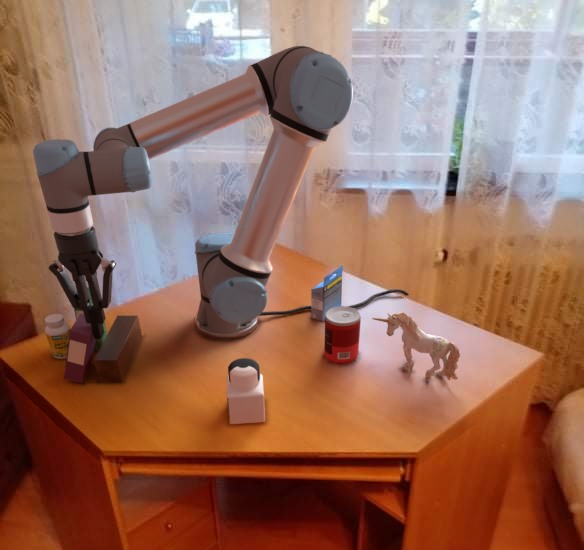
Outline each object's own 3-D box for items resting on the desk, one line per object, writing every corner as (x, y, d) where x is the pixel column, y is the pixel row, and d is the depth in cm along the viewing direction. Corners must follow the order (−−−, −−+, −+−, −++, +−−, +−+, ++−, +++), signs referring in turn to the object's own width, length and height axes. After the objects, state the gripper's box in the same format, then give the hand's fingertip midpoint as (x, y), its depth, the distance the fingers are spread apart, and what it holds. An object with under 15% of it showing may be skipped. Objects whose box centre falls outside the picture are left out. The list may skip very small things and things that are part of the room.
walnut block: (142, 337, 145) (137, 315, 141) (122, 382, 129) (117, 360, 126) (121, 336, 145) (117, 315, 141) (99, 382, 130) (93, 360, 126)
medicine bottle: (229, 403, 123) (224, 355, 116) (263, 400, 124) (261, 353, 116) (229, 425, 118) (224, 376, 110) (265, 422, 118) (262, 373, 111)
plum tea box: (91, 365, 135) (99, 318, 127) (82, 383, 129) (89, 336, 122) (73, 360, 134) (80, 313, 127) (63, 378, 128) (69, 330, 121)
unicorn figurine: (376, 353, 137) (380, 302, 129) (461, 370, 132) (471, 318, 124) (367, 370, 132) (372, 318, 124) (455, 389, 126) (466, 335, 118)
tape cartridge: (329, 304, 157) (330, 260, 149) (341, 308, 155) (343, 264, 147) (310, 318, 151) (310, 273, 144) (323, 322, 149) (324, 277, 142)
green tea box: (107, 335, 145) (99, 287, 137) (99, 351, 140) (90, 302, 132) (91, 334, 145) (82, 286, 137) (82, 350, 139) (72, 301, 132)
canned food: (364, 355, 137) (367, 313, 130) (343, 369, 132) (345, 327, 126) (339, 343, 141) (341, 302, 135) (317, 356, 137) (317, 315, 130)
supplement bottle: (72, 344, 142) (62, 309, 136) (79, 354, 138) (69, 319, 133) (49, 351, 140) (38, 316, 134) (56, 362, 136) (45, 326, 130)
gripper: (113, 221, 114) (133, 326, 128) (46, 221, 115) (74, 326, 129) (102, 236, 108) (125, 345, 122) (32, 236, 109) (63, 345, 123)
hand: (99, 335), depth 126 cm, fingers closed
